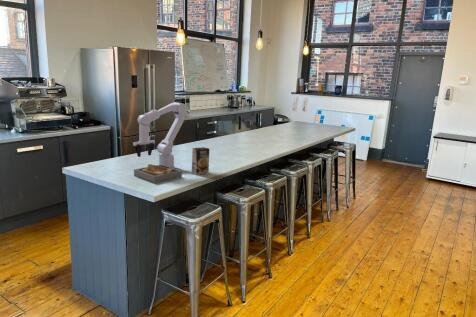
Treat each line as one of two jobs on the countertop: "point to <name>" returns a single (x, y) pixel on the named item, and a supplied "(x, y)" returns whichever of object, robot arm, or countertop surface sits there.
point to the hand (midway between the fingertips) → (144, 155)
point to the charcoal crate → (158, 178)
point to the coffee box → (200, 161)
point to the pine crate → (156, 170)
